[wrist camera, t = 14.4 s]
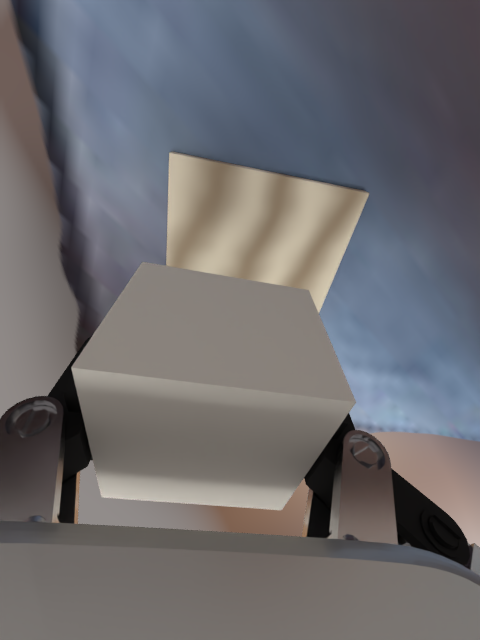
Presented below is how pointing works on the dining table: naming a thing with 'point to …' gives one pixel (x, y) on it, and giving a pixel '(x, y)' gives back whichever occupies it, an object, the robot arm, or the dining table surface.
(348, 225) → the build board
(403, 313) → the dining table surface
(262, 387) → the cream block
